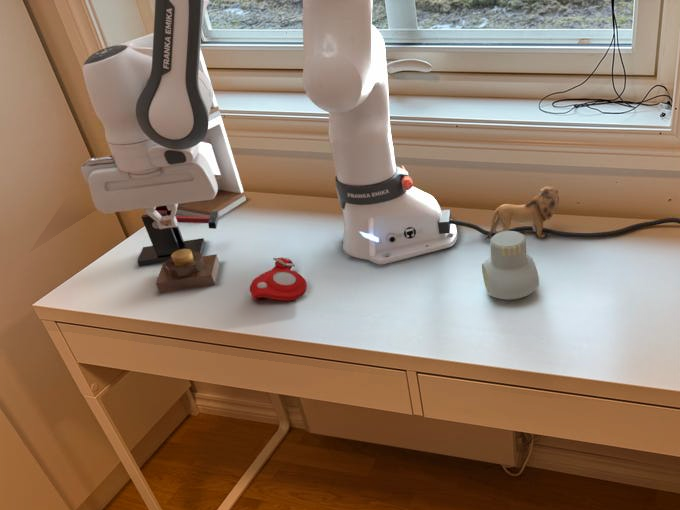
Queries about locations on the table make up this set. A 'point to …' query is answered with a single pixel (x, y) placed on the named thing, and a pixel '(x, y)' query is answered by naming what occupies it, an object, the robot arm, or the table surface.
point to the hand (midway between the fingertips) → (169, 226)
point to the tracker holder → (279, 282)
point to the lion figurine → (527, 212)
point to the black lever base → (165, 241)
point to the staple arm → (198, 219)
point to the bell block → (188, 273)
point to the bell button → (182, 257)
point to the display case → (208, 153)
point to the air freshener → (509, 267)
